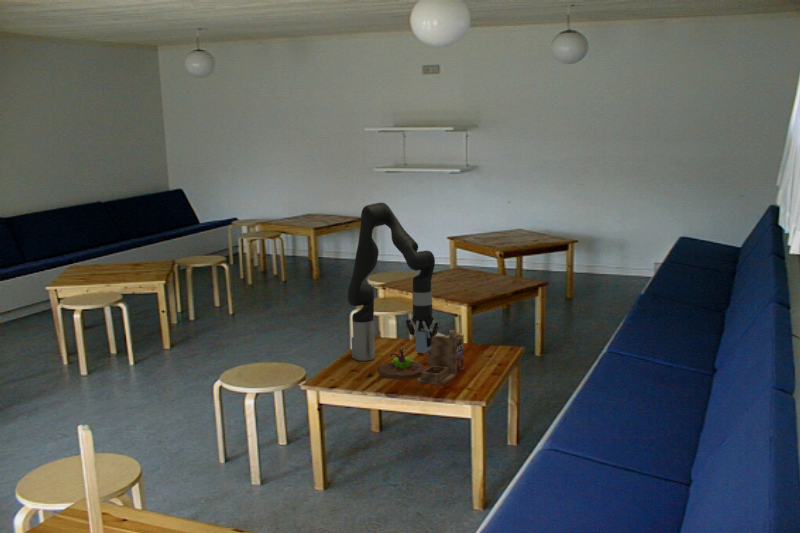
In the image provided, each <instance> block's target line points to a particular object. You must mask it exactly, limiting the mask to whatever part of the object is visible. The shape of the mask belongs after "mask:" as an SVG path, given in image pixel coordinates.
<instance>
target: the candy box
mask: <svg viewBox="0 0 800 533" xmlns="http://www.w3.org/2000/svg"><path fill="white" fill-rule="evenodd" d="M455 334H456V357H457V372H458V371H461V370H465V369H464V368H465V363H464V360H465V359H464V358H465V356H464V355H465V353H464V352H465V351H464V348H465V345H464V344H465V343H464V340H465V338H464V336H465V335H464V334H463V333H459V332H457V333H456V332H455ZM445 337H450V334H446V335H445Z"/></svg>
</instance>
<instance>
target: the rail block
mask: <svg viewBox="0 0 800 533" xmlns="http://www.w3.org/2000/svg"><path fill="white" fill-rule="evenodd" d="M431 332H432V331H431ZM414 344H415V345H414V347H415V353H421V354H425V353H426V354H427V351H429V350H430V349H431V346H430V347H427V332H425V329H420V330H419V331H416V332H415V337H414Z"/></svg>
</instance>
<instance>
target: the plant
mask: <svg viewBox="0 0 800 533" xmlns="http://www.w3.org/2000/svg"><path fill="white" fill-rule="evenodd" d="M406 351H407V350H406V349H405V348H404V347H403V348H402V349H401V348H399V354H400V355H399V354H397V353H395V352H394V353H389V354H388V358H392V357H393V358H392V360H390V361H389V362H388V363H384V364H380V365H378V366H377V368H376V369H377V370H378V371H377V373H378V374H379V375H381V376H383V377H385V378H387V379H391V380H393V379H395V380H409V379H417V378H420V377H421V372H422V371H424V370H425V369H426V367H425V366H424V364H422V363H421V362H419V361H418V362H417V361H415V360H414V359H411V357H410V356H406V357H405V356H404V354H406V353H407V352H406Z"/></svg>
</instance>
